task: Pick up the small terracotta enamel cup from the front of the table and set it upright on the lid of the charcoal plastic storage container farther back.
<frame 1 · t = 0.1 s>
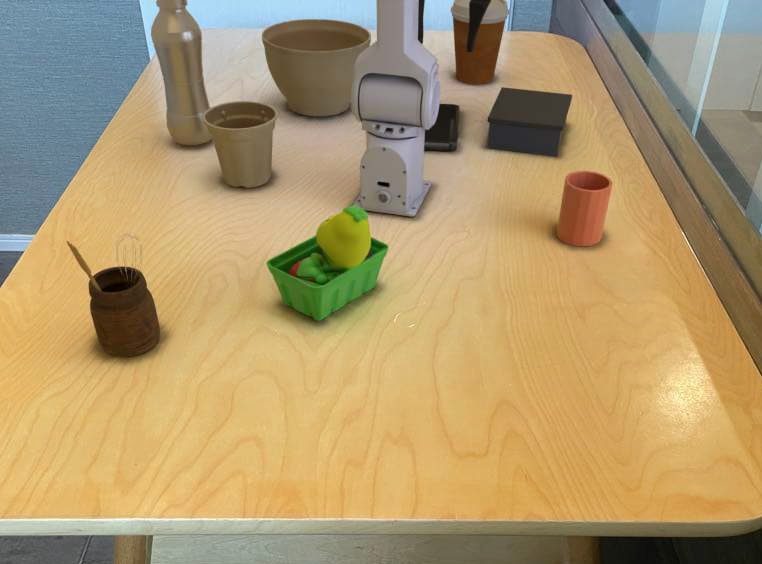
hand: (444, 47, 119), 10 cm above the table, tool pointing down, fingers open, 7 cm apart
flower pot: (247, 180, 108), on the table
planter bowl: (319, 107, 128), on the table
utensil holder: (130, 342, 80), on the table
disposable coffee cup: (474, 79, 139), on the table
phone: (432, 130, 121), on the table
cup: (578, 235, 98), on the table
plastic bottle: (193, 142, 117), on the table
container: (527, 136, 120), on the table
fruit basket: (334, 299, 87), on the table
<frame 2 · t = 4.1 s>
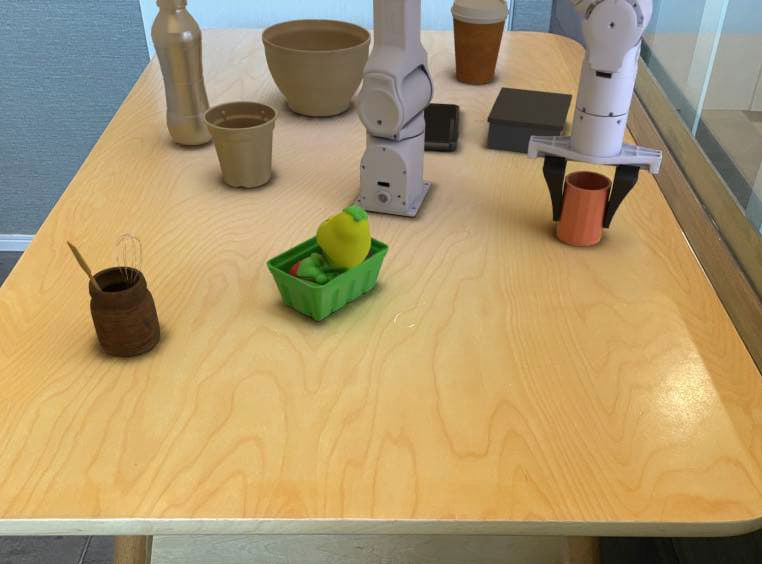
hand: (581, 221, 96), 2 cm above the table, tool pointing down, fingers closed on cup, 5 cm apart
cup: (578, 235, 98), on the table, touching gripper
everything else where it was.
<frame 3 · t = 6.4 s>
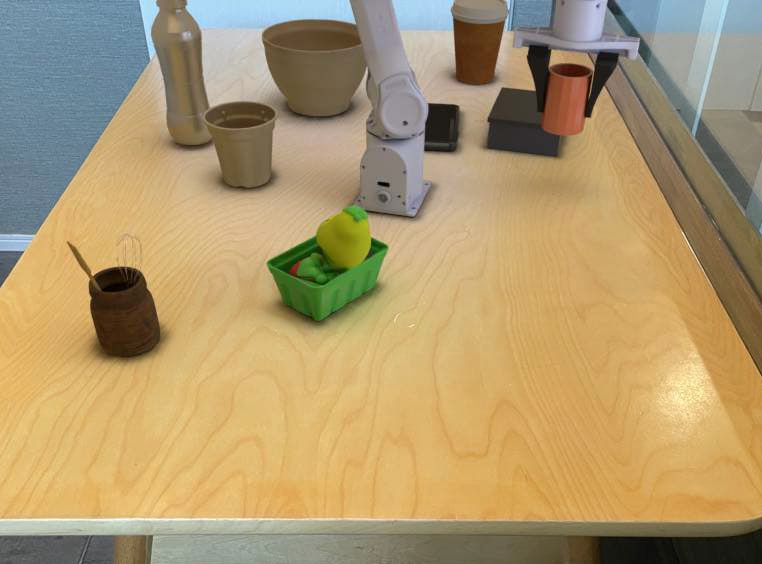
hand: (564, 112, 101), 10 cm above the table, tool pointing down, fingers closed on cup, 5 cm apart
cup: (562, 127, 102), point 8 cm above the table, touching gripper
everything else where it was.
when the fingers open (6 cm above the table, at t = 9.1 s): cup stays where it is, resting on container.
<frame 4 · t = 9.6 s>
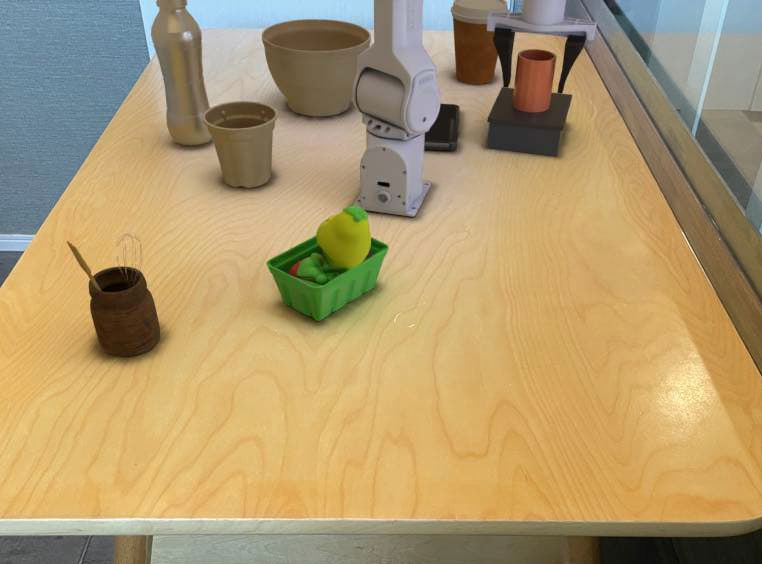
hand: (533, 87, 116), 7 cm above the table, tool pointing down, fingers open, 7 cm apart
cup: (531, 105, 117), point 4 cm above the table, touching container
everything else where it was.
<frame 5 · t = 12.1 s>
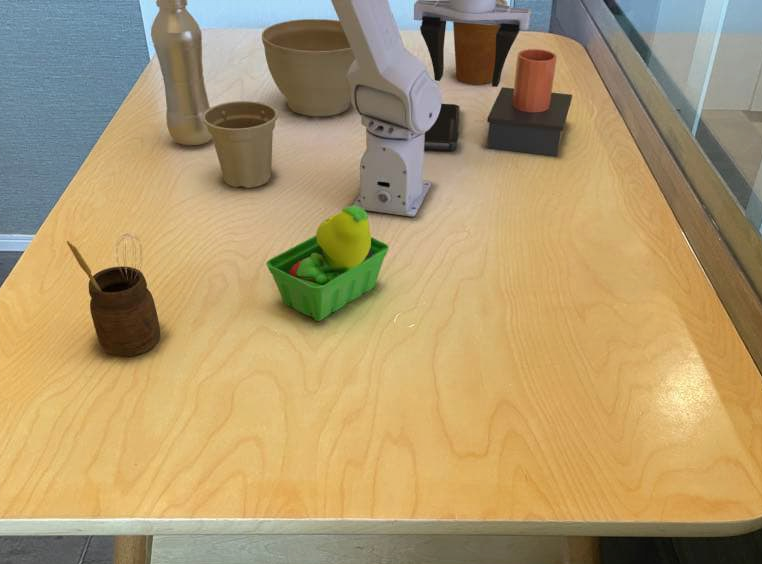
hand: (467, 81, 108), 10 cm above the table, tool pointing down, fingers open, 7 cm apart
nothing on the table moved.
at the end: cup inside the target area on the container (0.0 cm from its centre), point 4.5 cm above the container's base; cup tilted 0°; the gripper is holding nothing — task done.
